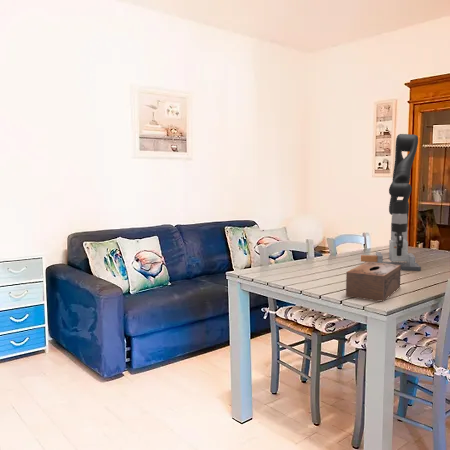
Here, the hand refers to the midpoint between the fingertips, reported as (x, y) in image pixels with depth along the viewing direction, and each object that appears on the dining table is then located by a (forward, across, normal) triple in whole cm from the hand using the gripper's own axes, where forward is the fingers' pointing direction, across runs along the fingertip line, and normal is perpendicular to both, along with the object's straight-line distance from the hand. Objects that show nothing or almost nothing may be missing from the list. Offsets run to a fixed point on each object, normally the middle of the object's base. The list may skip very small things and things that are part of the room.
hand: (398, 254), depth 235 cm
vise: (+7, 0, -3) cm, 8 cm away
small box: (+3, 0, 0) cm, 3 cm away
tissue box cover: (+7, +54, -15) cm, 56 cm away
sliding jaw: (+5, 0, -13) cm, 14 cm away
